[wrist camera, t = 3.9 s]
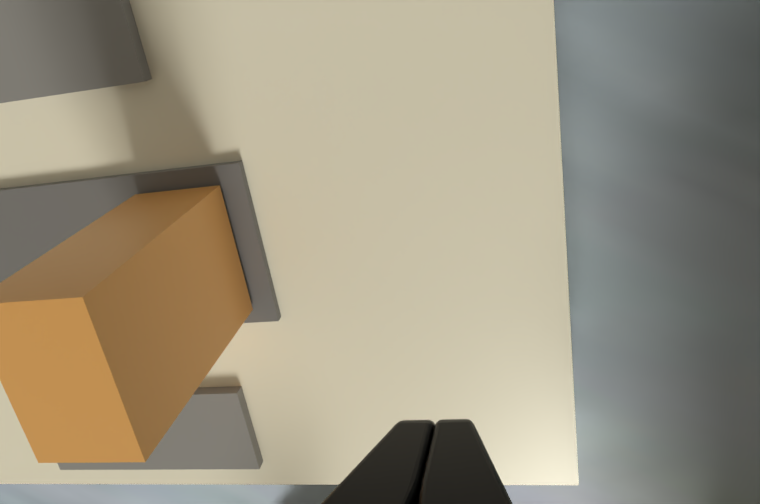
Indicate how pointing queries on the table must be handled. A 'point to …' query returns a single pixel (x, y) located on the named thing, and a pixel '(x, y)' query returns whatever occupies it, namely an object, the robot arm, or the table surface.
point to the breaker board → (316, 217)
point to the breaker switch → (121, 326)
